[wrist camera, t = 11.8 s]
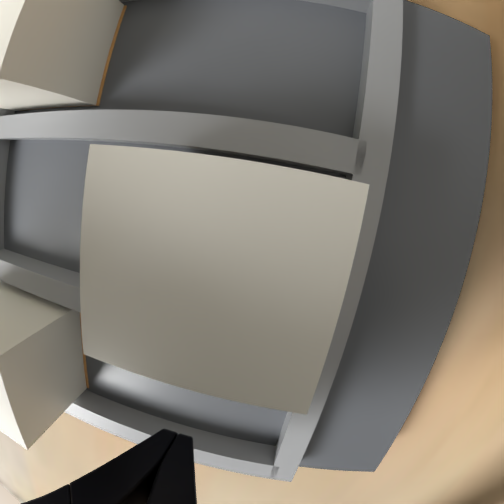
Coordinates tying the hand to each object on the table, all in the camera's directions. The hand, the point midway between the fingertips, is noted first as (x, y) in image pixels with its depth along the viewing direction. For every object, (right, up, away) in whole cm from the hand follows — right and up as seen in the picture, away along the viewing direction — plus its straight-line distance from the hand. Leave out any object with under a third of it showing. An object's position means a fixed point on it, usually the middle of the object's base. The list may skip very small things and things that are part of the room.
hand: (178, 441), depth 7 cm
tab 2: (-6, +2, +3) cm, 7 cm away
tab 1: (-4, +12, 0) cm, 12 cm away
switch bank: (-1, +6, +3) cm, 7 cm away
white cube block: (+2, +5, +1) cm, 6 cm away
